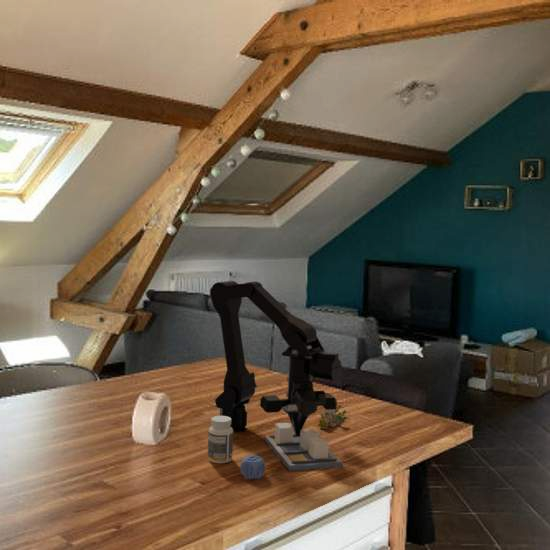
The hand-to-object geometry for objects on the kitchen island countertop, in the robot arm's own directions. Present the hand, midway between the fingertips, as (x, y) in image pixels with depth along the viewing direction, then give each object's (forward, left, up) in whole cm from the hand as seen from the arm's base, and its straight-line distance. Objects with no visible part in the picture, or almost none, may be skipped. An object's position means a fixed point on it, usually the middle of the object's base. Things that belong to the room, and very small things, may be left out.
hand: (297, 435), depth 173 cm
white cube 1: (+1, -12, -1) cm, 12 cm away
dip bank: (-1, -6, -2) cm, 7 cm away
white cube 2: (+1, -6, -1) cm, 6 cm away
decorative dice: (-16, -18, -2) cm, 24 cm away
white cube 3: (-3, 0, -1) cm, 4 cm away
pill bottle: (-21, -7, -2) cm, 23 cm away
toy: (+16, +15, -3) cm, 22 cm away
